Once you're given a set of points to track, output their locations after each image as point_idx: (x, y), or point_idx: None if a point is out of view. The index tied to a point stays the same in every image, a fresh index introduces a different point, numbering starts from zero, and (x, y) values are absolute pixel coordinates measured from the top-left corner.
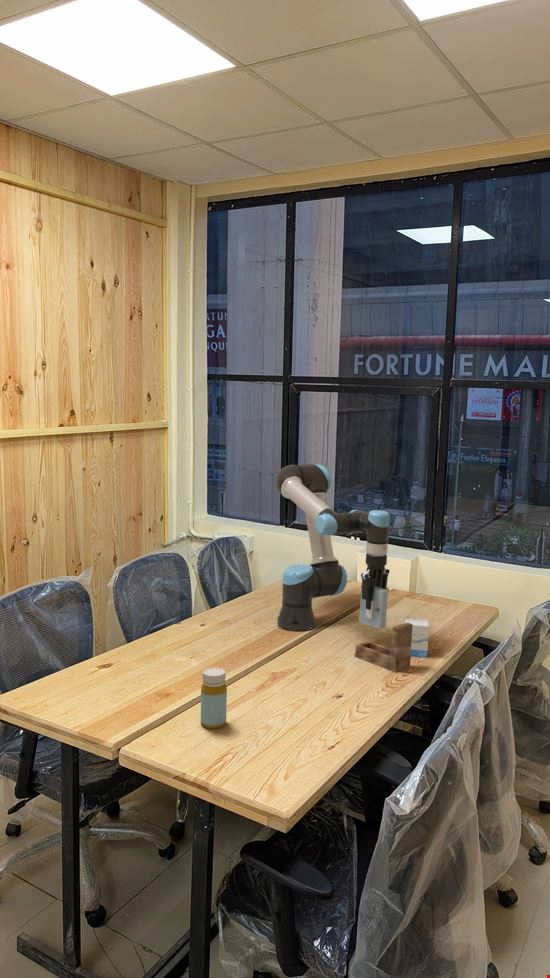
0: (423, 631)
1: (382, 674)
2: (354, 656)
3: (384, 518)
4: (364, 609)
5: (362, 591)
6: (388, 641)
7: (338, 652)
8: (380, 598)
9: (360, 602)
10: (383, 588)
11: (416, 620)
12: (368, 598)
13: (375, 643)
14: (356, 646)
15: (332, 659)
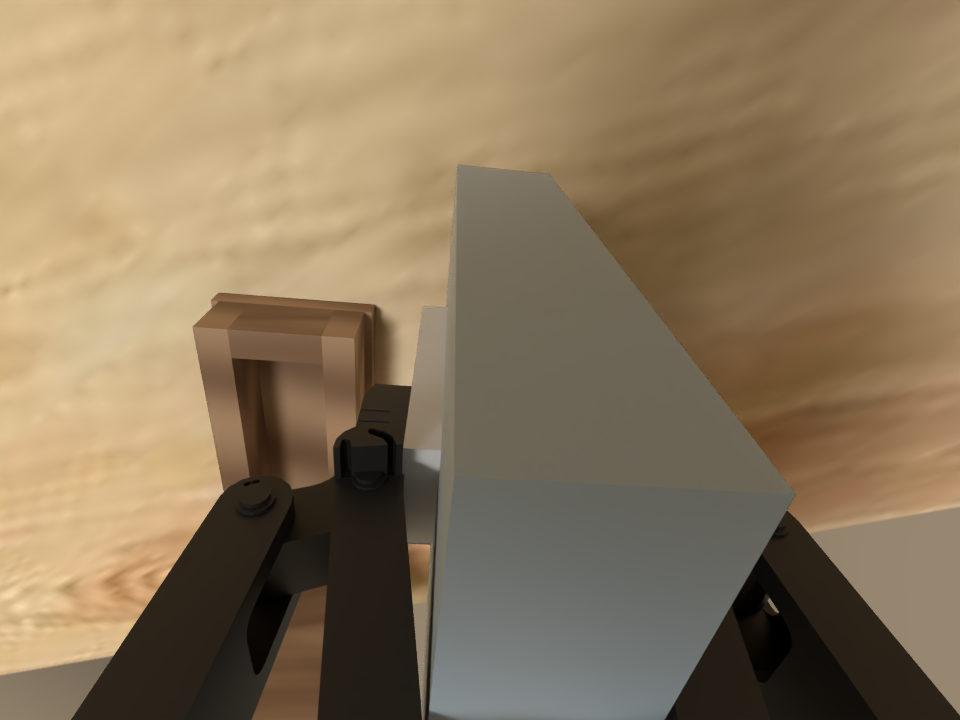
0: None
1: (183, 516)
2: (218, 293)
3: None
4: (449, 295)
5: (135, 642)
6: (635, 280)
7: (165, 163)
8: (422, 697)
9: (455, 240)
10: (768, 713)
11: None
12: (266, 604)
13: (350, 393)
14: (196, 331)
15: (34, 222)
